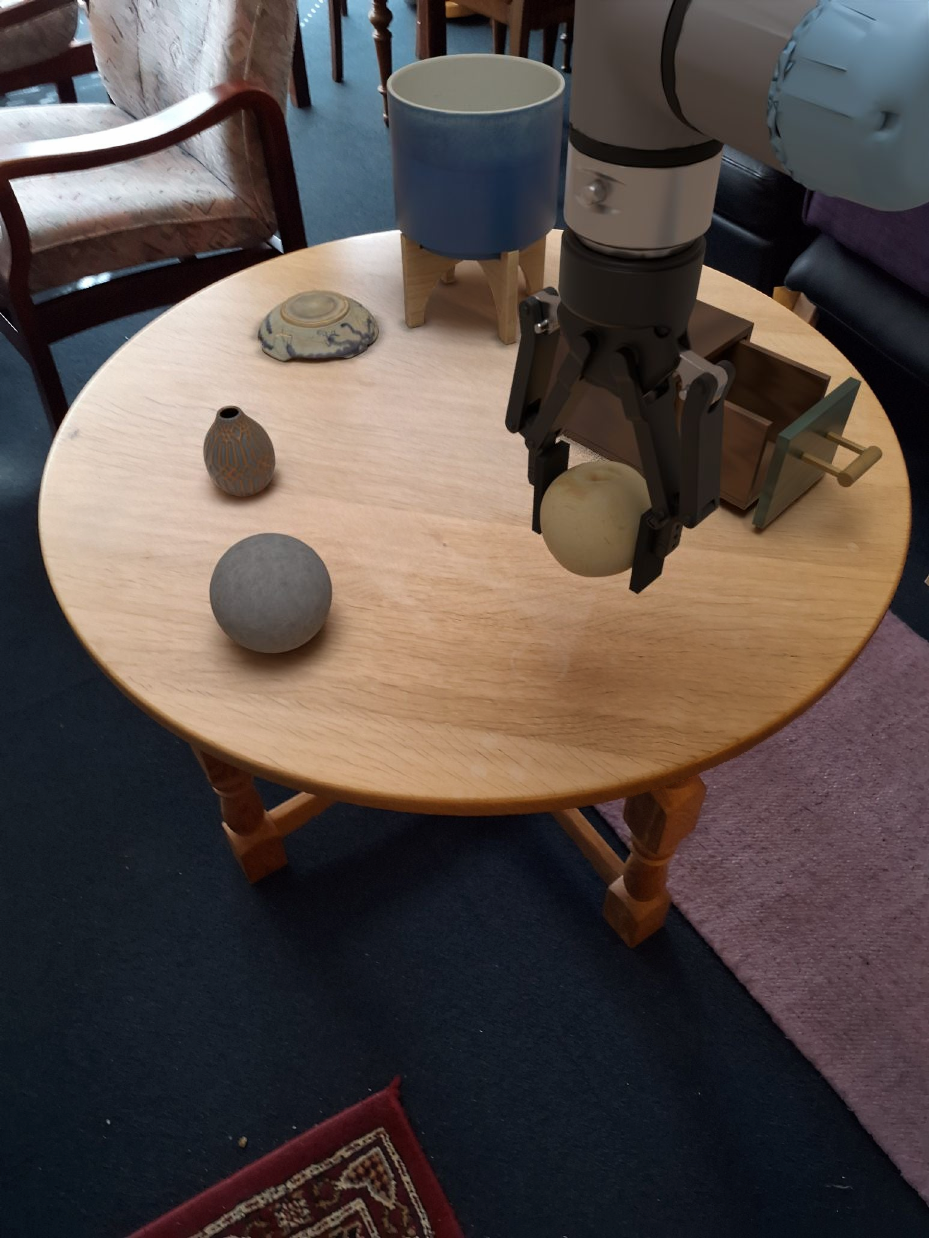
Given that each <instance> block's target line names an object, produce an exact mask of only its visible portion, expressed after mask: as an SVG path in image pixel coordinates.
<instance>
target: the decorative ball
mask: <svg viewBox="0 0 929 1238" xmlns="http://www.w3.org/2000/svg"><path fill="white" fill-rule="evenodd" d="M223 553H224V554H222V556H220V558H219V559H218V561H217V563H216V565H215V567H214V569H213V572H212V575H211V578H210V583H209V589H208V590H209V591H208V593H209V602H210V607H211V611H212V614H213V616H214V618H215V620H216V622H217V624H218V626H219V627H220V629H221V630H222V631H223V632H224V633H225V634H226V635H227V637H229V638H230V639H231V640H232V641H234V643H237V644H238V645H240V646H241V647H243V648H246V649H247V650H251V651H253V652H254V651H255V652H258V653H265V654H278V653H286V652H289V651H292V650H295V649H297V648H299V647H301V646H302V645H304V644H306V643H307V642H309V641H310V640H311V639H313V637H315V636H316V634H318V632H319V631H320V630H321V629H322V627H323V626H324V625H325V622H326V620H327V618H328V616H329V614H330V611H331V607H332V602H333V584H332V579H331V576H330V572H329V570H328V568H327V565H326V564H325V562H324V560H322V558H321V556H320V555H319V554H318V553H317V551H315V550H314V548H313V547H311V546H310V545H308V544H307V543H305V542H304V541H302V540H301V539H299V538H296V537H294V536H291V535H289V534H284V533H279V532H263V533H257V534H253V535H250V536H247V537H244V538H243V539H241V540H239V541H237V542H236V543H234V544H233V545H231V546H230V547H229V548H227V550H226V552H223Z"/></svg>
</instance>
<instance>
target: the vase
mask: <svg viewBox="0 0 929 1238" xmlns="http://www.w3.org/2000/svg"><path fill="white" fill-rule="evenodd" d="M202 453H203V461H204V465H205V469H206V471H207V474H208V476H209V477H210V479H211V480H212V481H213V482H214V484H215V485H216V486H217V487H218V488H219V489H220V490H222V491H224V492H225V493H227V494H230V495H233V496H236V497H249V496H254V495H256V494H258V493H260V492H261V491H263V490H264V489H265V488H266V487H267V486H268V485H269V483H270V482H271V481H272V479H273V477H274V474H275V469H276V453H275V448H274V445H273V442H272V439H271V437H270V436H269V434H268V432H267V431H266V429H265V428H264V427H263V426H262V424H260V423H258V421H256V420H255V419H253V418H251V417H250V416H248V415H247V414H246V413H245V412H244V411H243V410H242V408H241V407H239V406H237V405H225V406H223V407H221V408H219V409H218V410H217V411H216V414H215V418H214V421H213V422H212V423H211V425H210V427H209V428H208V431H207V432H206V434H205V436H204V440H203V447H202Z"/></svg>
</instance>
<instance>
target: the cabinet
mask: <svg viewBox="0 0 929 1238" xmlns="http://www.w3.org/2000/svg"><path fill="white" fill-rule="evenodd" d="M754 327H755V322H753V321H751V320H748V319H746V318H743V317H741V316H739V315H736V314H734V313H732V312H729V311H726V310H724V309H722V308H719V307H717V306H714V305H713V304H710V303H707V302H704V301H703V300H700V299H697V298H696V302H695V305H694V308H693V310H692V313H691V316H690V319H689V323H688V329H689V335H690V339H691V343H692V351H693V352H694V353H696V354H697V355H699V356H701V357H702V358H704V359H705V360H707V361H709V360H711V359H712V358H714V357H715V356H717V355H718V354H719V353H721V352H722V351H724V350H725V349H727V348H728V347H730V346H731V345H733V344H734V343H736V342H737V341H739V340H740V339H741V338H742V339H745V340H747V341H749V342H751V338H752V334H753V331H754ZM568 353H569V346H568V344H567V342H566V339H565V337H564V334H563V332H562V330H561V331H560V337H559V341H558V346H557V350H556V354H555V359H554V363H553V367H552V372H551V376H550V380H549V385H548V389H547V393H546V398H545V401H546V399H547V398H548V396H549V394H550V392H551V390H552V389H553V387H554V385H555V383H556V381H557V380H558V379H557V378H556V375H557V373H558V371H559V369H560V368H561V366H562V364H563V362H564V360H565V359H566V357H567V355H568ZM673 378H674V383H675V387H676V383H677V382H678V381H680V380H681V377H680V375H679V374H678V373H677V372H676V371H675V372H674V373H673ZM651 391H652V390H651ZM651 391H650V392H649V393H651ZM649 393H647V394H646V395H648V394H649ZM646 395H644V396H643V397H645V396H646ZM544 403H545V402H544ZM566 429H567V430H568V431H566V432H565V433H564V434H562V435H564V437H567V438H569V439H570V440H572V441H575V442H577V444H580V445H582V446H583V447H585V448H587V449H589V450H591V451H593V452H595V453H596V454H598V455H600V456H602V457H603V458H606V459H608V461H613V462H618V463H622V464H625V465H627V466H630V467H631V468H633V469H634V470H636V471H637V472H638V473H639V474H640V475H641V476H642V477H643V478H644V480H645V476H644V471H643V467H642V463H641V458H640V454H639V449H638V445H637V441H636V436H635V432H634V428H633V423H632V422H631V421H630V420H627V419H626V418H625V415H624V411H623V406H622V402H621V399H620V398H618V397H616V396H614V395H613V394H612V393H611V392H609V391H608V390H607V389H605V388H601V387H595V386H593V385H591V386H590V388H589V389H588V391H587V392H586V394H585V396H584V397H583V399H582V401H581V402H580V404H579V406H578V407H577V409H576V411H575V412H574V414H573V415H572V417H571V419H570V420H569V422H568V424H567V425H566V427H565V429H564V430H563V431H565V430H566Z"/></svg>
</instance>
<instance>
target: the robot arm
mask: <svg viewBox="0 0 929 1238" xmlns="http://www.w3.org/2000/svg"><path fill="white" fill-rule="evenodd" d="M571 57H572V61H571V79H570V99H569V115H568V116H569V117H568V120H569V121H568V122H569V126H568V127H569V129H568V138H567V141H568V142H567V153H566V155H567V157H566V167H565V168H566V169H565V186H564V199H563V212H562V213H563V219H564V222H565V223H566V227H565V228H564V229H563V231H562V232H561V236H560V237H561V238H560V239H561V240H560V252H559V267H558V269H559V270H558V282H557V283H558V285H557V289H556V288H555V287H554V286H551V285H549V286H546V287H545V288H543V290H541V291H539V292H537V293H535V294H534V295H532V296H528V297H525V298H524V299H523V300H520V302H519V303H518V304H517V313H518V320H519V321H518V322H519V328H520V329H519V330H520V339H519V344H518V350H517V354H516V360H515V365H514V370H513V374H512V375H513V377H512V381H511V387H510V391H509V392H510V393H509V397H508V403H507V407H506V414H505V417H504V426H505V427H506V430H507V431H508V432H509V433H511V434H512V435H513V434H514V435H515V434H517V433H518V434H519V435H520V436H521V437H522V438H523V439H524V441H523V442H524V445H525V447H526V449H527V450H528V456H527V481H528V484H529V485H531V486H533V495H532V496H533V498H532V499H533V500H532V517H531V531H532V532H534V533H535V534H537V535H539V536H540V535H542V531H541V525H540V509H541V503H542V500H543V497H544V495H545V493H546V491H547V489H548V487H549V486H550V485H551V483H552V482H553V481H554V480H555V479H556V478H557V477H558V476H560V475H561V474H562V473H564V472H565V471H567V470H568V469H569V461H570V450H571V443H569V442H567V441H565V440H564V439H559V441H557V439H558V438H559V437H561V436H562V435H563V434H564V433H565V432H566V431H568V430H567V429H566V430H565V431H563V430H564V429H565V427H566V425H567V424H568V422H569V420H570V419H571V417H572V415H573V414H574V412H575V411H576V409H577V407H578V406H579V404H580V402H581V401H582V399H583V397H584V396H585V394H586V392H587V391H588V389H589V388H590V386H591V385H593V386H595V387H601V388H605V389H607V390H608V391H609V392H611V393H612V394H613V395H614V396H616V397H618V398H620V399H621V402H622V406H623V411H624V415H625V418H626V419H627V420H630V421H631V422H632V423H633V428H634V432H635V436H636V441H637V445H638V449H639V454H640V458H641V463H642V467H643V471H644V476H645V479H644V480H645V481H646V484H647V489H648V493H649V498H650V502H651V506H652V507H651V508H650V509H648V510H647V511H646V512H645V513H643V514H642V515H641V518H640V524H639V530H638V536H637V542H636V548H635V554H634V560H633V566H632V568H631V572H630V579H629V585H628V590H629V591H630V592H632V593H634V594H636V595H639V594H640V593H641V592H643V591H644V590H645V589H646V588H647V587H648V586H650V585H651V584H652V583H653V582H654V581H656V580H657V579H658V578H659V577H660V576H662V574H663V569H664V565H665V558H667V557H668V556H669V555H670V554H671V553H672V552H674V551H675V550H676V549H677V548H678V547H679V546H680V543H681V538H682V533H683V530H684V529H683V528H686V529H689V530H692V529H695V528H696V527H697V526H699V524H701V523H702V522H703V521H704V520H705V519H707V518H708V517H709V516H711V514H712V513H714V512H715V511H717V510H718V509H719V506H720V498H721V497H720V478H721V457H722V437H723V417H724V400H725V398H726V396H727V393H728V391H729V389H730V386H731V384H732V382H733V380H734V377H735V374H736V372H735V368H734V366H733V364H732V363H731V362H729V361H727V360H722V361H720V362H718V363H717V364H716V365H713V364H712V363H710V362H708V361H707V360H705V359H704V358H702V357H701V356H699V355H697V354H696V353H694V352H693V351H692V343H691V339H690V335H689V329H688V323H689V319H690V316H691V313H692V310H693V308H694V305H695V302H696V299H697V298H698V293H699V287H700V281H701V277H702V271H703V267H704V266H703V265H704V260H705V254H706V249H707V239H706V237H705V235H704V234H705V233H706V232H707V231H708V230H709V228H710V227H711V225H712V220H713V212H714V208H715V202H716V200H715V199H716V195H717V190H718V184H719V178H720V172H721V166H722V161H723V155H724V148H725V145H726V146H728V147H730V148H732V149H734V150H736V151H738V152H740V153H742V154H744V155H746V156H748V157H750V158H752V159H754V160H756V161H759V162H760V163H762V164H764V165H766V166H769V167H771V168H773V169H774V170H777V171H779V172H780V173H782V174H785V175H787V176H789V177H791V179H793V181H795V182H797V183H798V184H801V185H802V186H803V187H804V188H806V189H808V190H810V191H818V192H819V193H820V194H823V195H824V196H825V197H830V198H831V197H832V198H840V199H844V200H848V201H850V202H854V203H856V204H858V205H862V206H864V207H868V208H871V209H873V210H876V211H877V210H878V211H883V212H903V211H908V210H911V209H914V208H917V207H921V206H923V205H925V204H927V203H929V0H574V20H573V40H572V56H571ZM561 330H562V332H563V334H564V337H565V339H566V342H567V344H568V346H569V353H568V355H567V357H566V359H565V360H564V362H563V364H562V366H561V368H560V369H559V371H558V373H557V375H556V378H557V379H558V380H557V381H556V383H555V385H554V387H553V389H552V390H551V392H550V394H549V396H548V398H547V399H546V401H545V398H546V393H547V389H548V385H549V380H550V376H551V372H552V367H553V363H554V359H555V354H556V350H557V346H558V341H559V337H560V331H561ZM675 371H676V372H677V373H678V374H679V375H680V377H681V379H682V390H681V391H679V397H680V398H681V399H682V400H685V401H684V404H683V407H682V412H681V431H680V436H679V431H678V426H677V421H676V416H675V411H674V401H675V399H676V388H675V383H674V378H673V373H674V372H675ZM651 390H652V391H651ZM650 391H651V393H649V392H650ZM647 393H649V394H648V395H646V394H647ZM644 395H646V396H645V397H643V396H644ZM544 402H545V403H544Z"/></svg>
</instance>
